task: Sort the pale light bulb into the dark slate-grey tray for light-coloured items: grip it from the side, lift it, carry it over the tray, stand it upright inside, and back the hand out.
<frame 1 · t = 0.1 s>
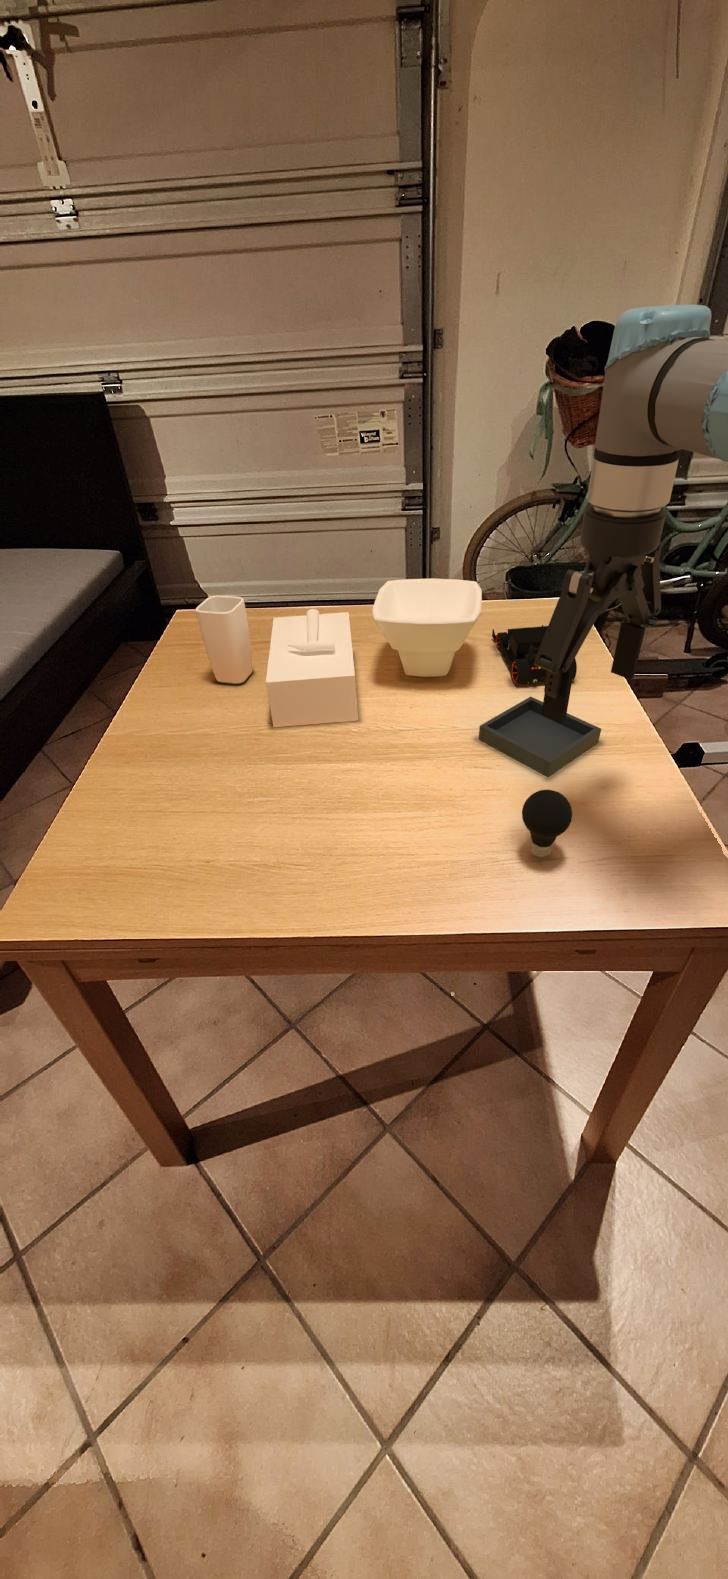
hand: (589, 695, 75), 19 cm above the table, tool pointing down, fingers open, 13 cm apart
cup: (235, 678, 121), on the table
slate tray: (537, 740, 100), on the table
light bulb: (539, 856, 81), on the table
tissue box: (315, 687, 117), on the table
bowl: (427, 670, 120), on the table
toy truck: (530, 661, 120), on the table
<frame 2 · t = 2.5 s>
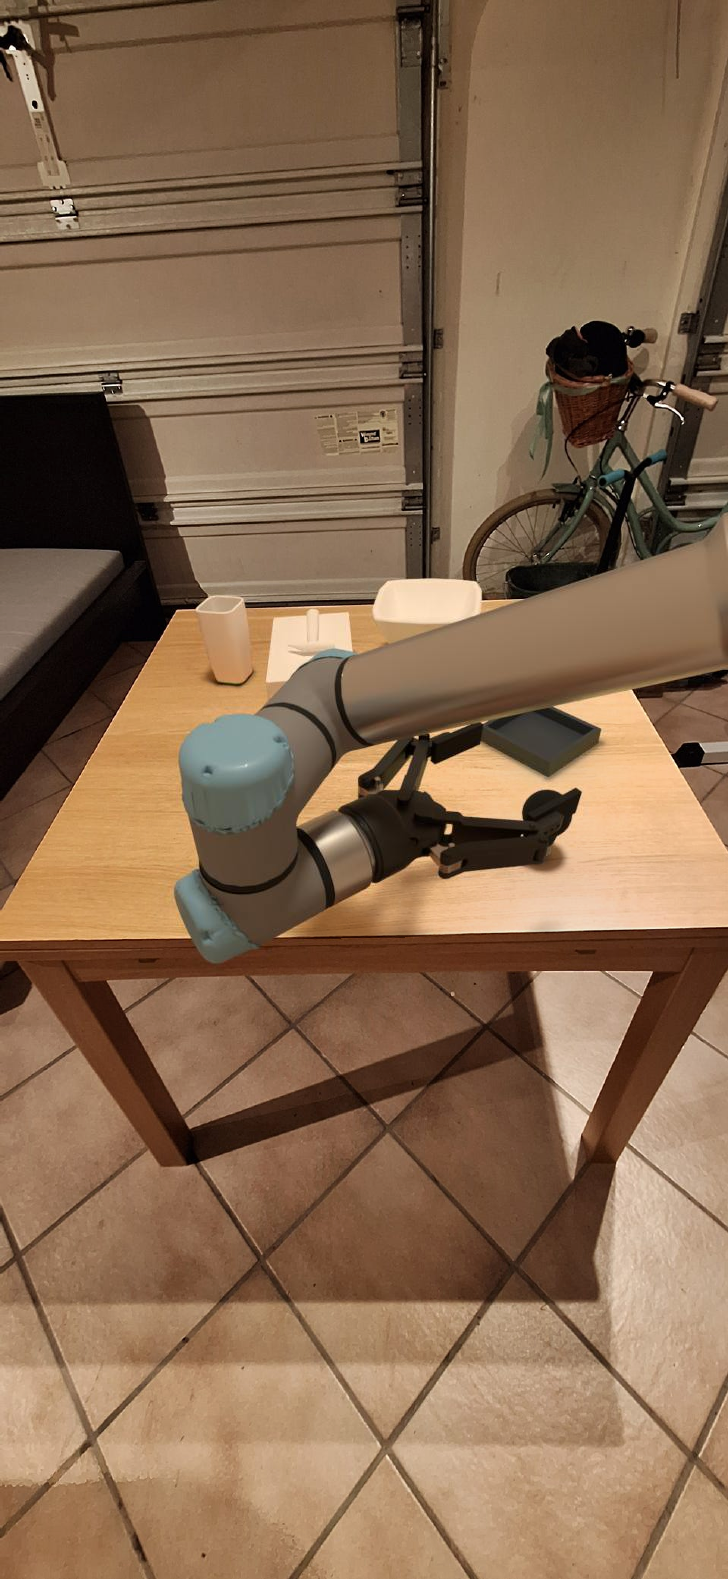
hand: (524, 764, 65), 19 cm above the table, tool horizontal, fingers open, 13 cm apart
nothing on the table moved.
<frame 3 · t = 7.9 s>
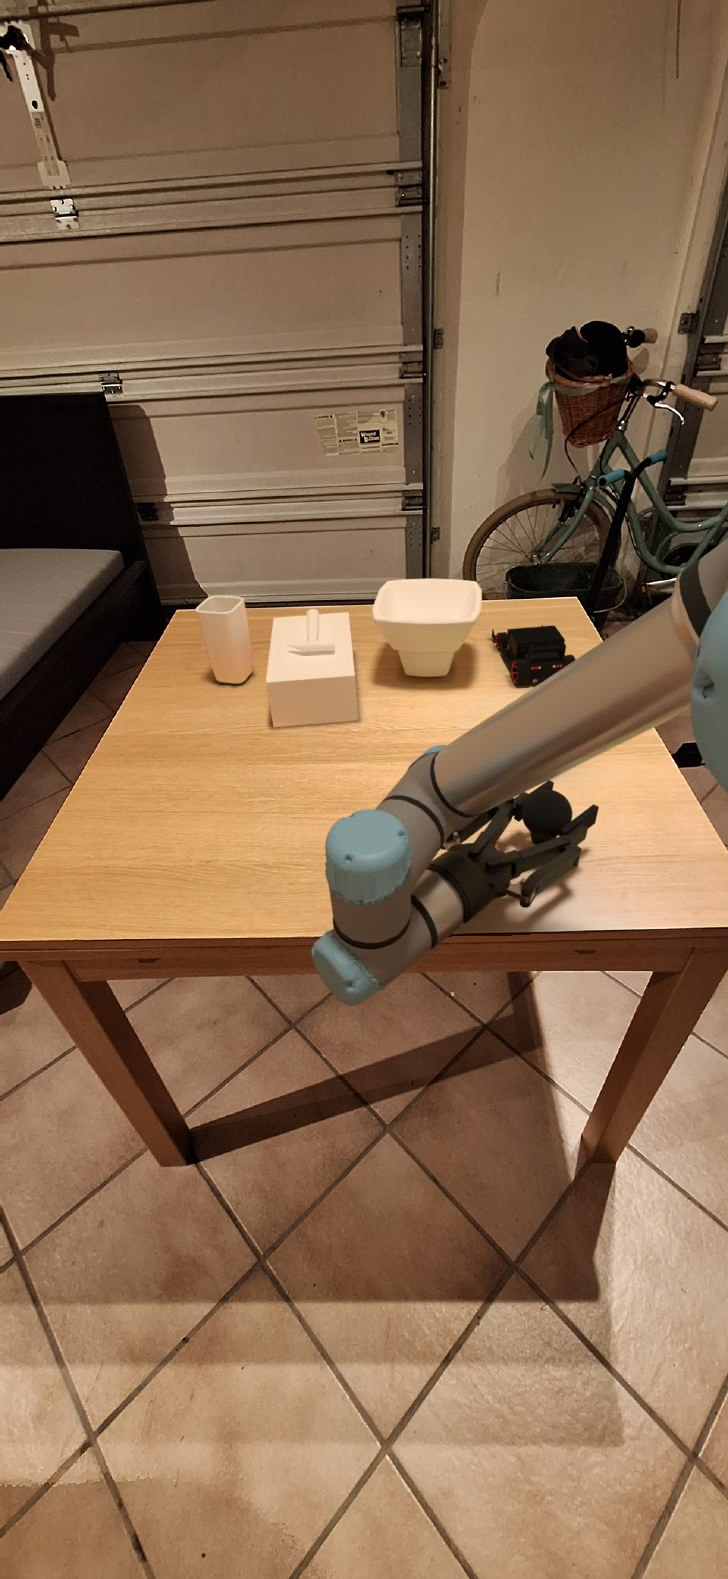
hand: (571, 801, 79), 6 cm above the table, tool horizontal, fingers closed on light bulb, 6 cm apart
light bulb: (539, 856, 81), on the table, touching gripper
everything else where it was.
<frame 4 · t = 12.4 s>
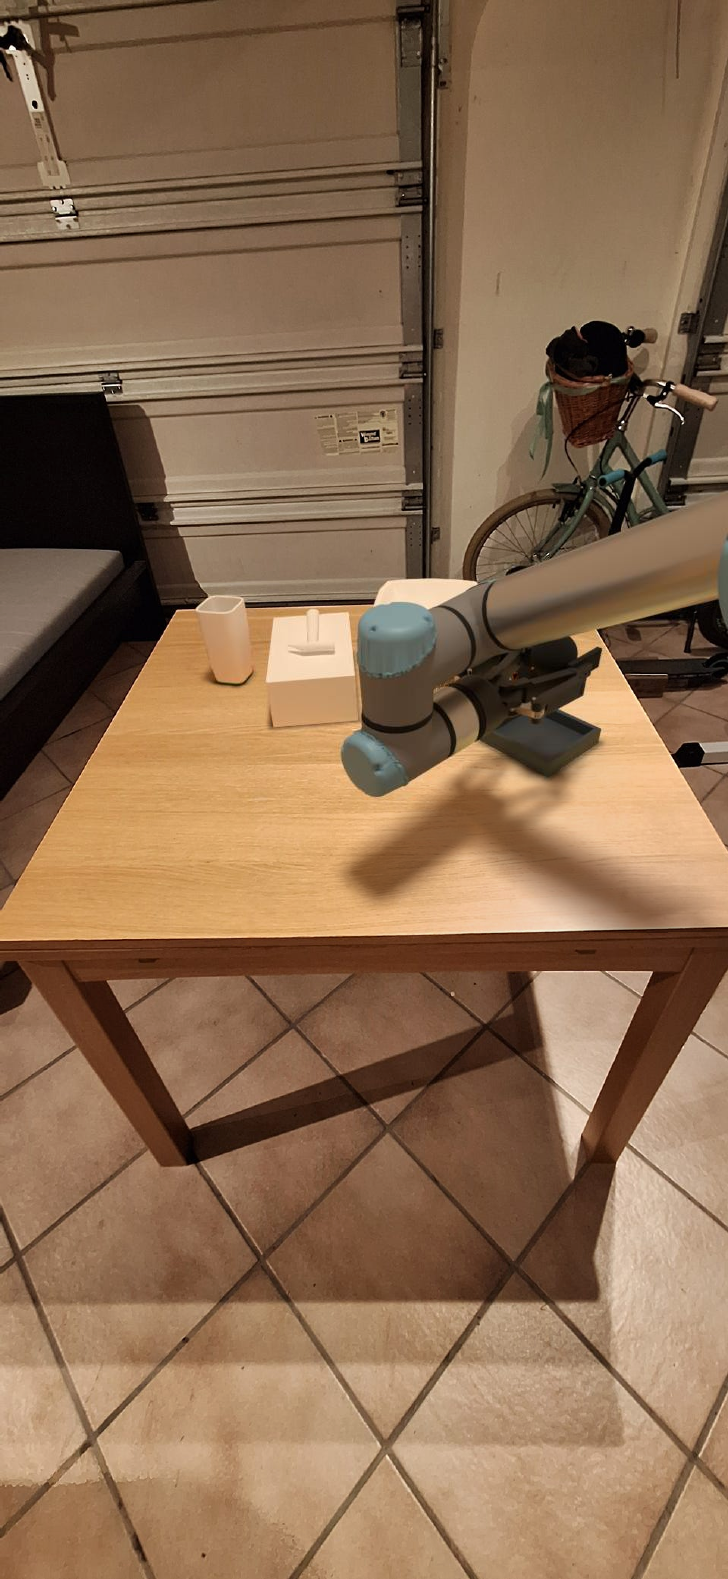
hand: (576, 648, 85), 18 cm above the table, tool horizontal, fingers closed on light bulb, 6 cm apart
light bulb: (546, 702, 87), point 12 cm above the table, touching gripper
everything else where it was.
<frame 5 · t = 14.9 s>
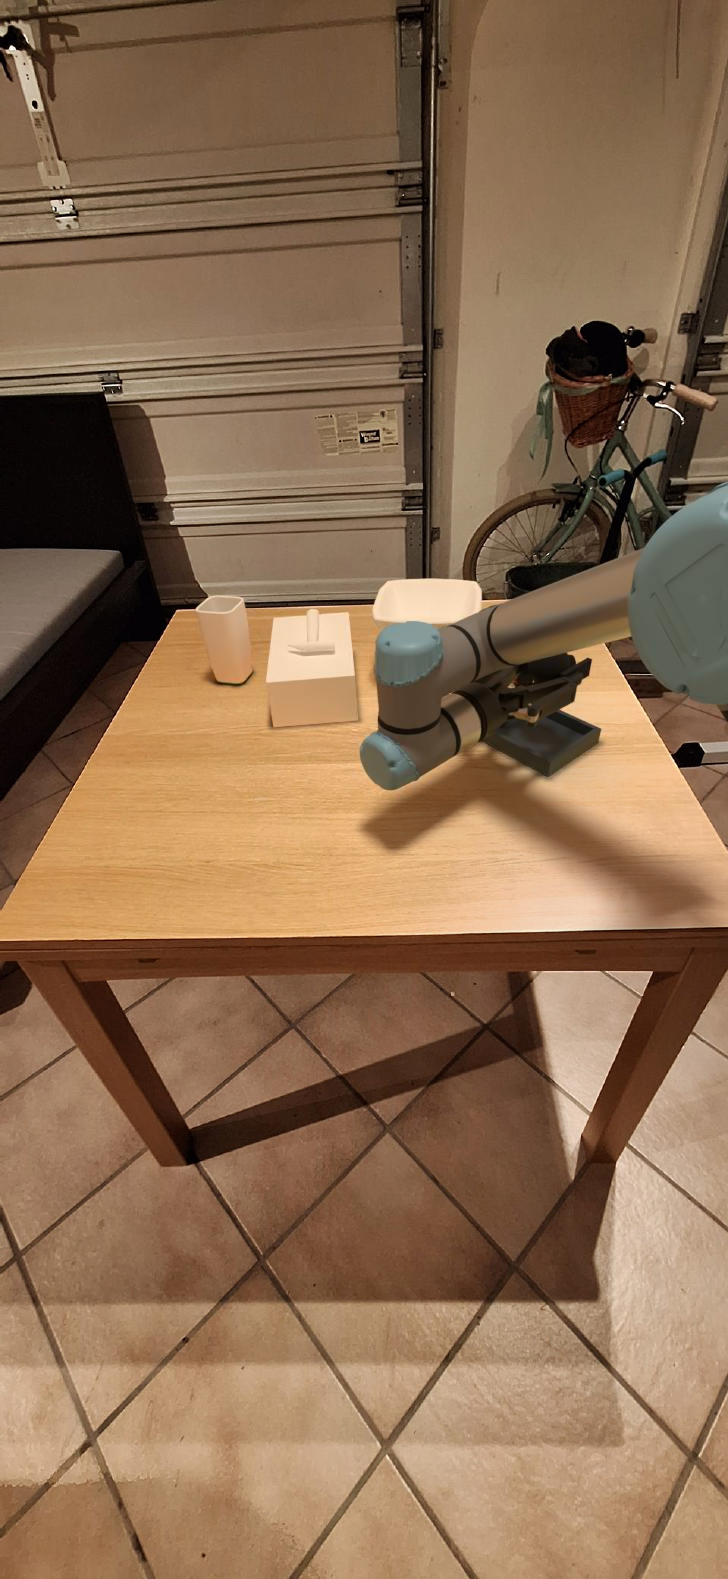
hand: (569, 659, 95), 12 cm above the table, tool horizontal, fingers closed on light bulb, 6 cm apart
light bulb: (542, 707, 96), point 6 cm above the table, touching gripper
everything else where it was.
when the fingers open (7 cm above the table, at t = 16.8 s): light bulb stays where it is, resting on slate tray.
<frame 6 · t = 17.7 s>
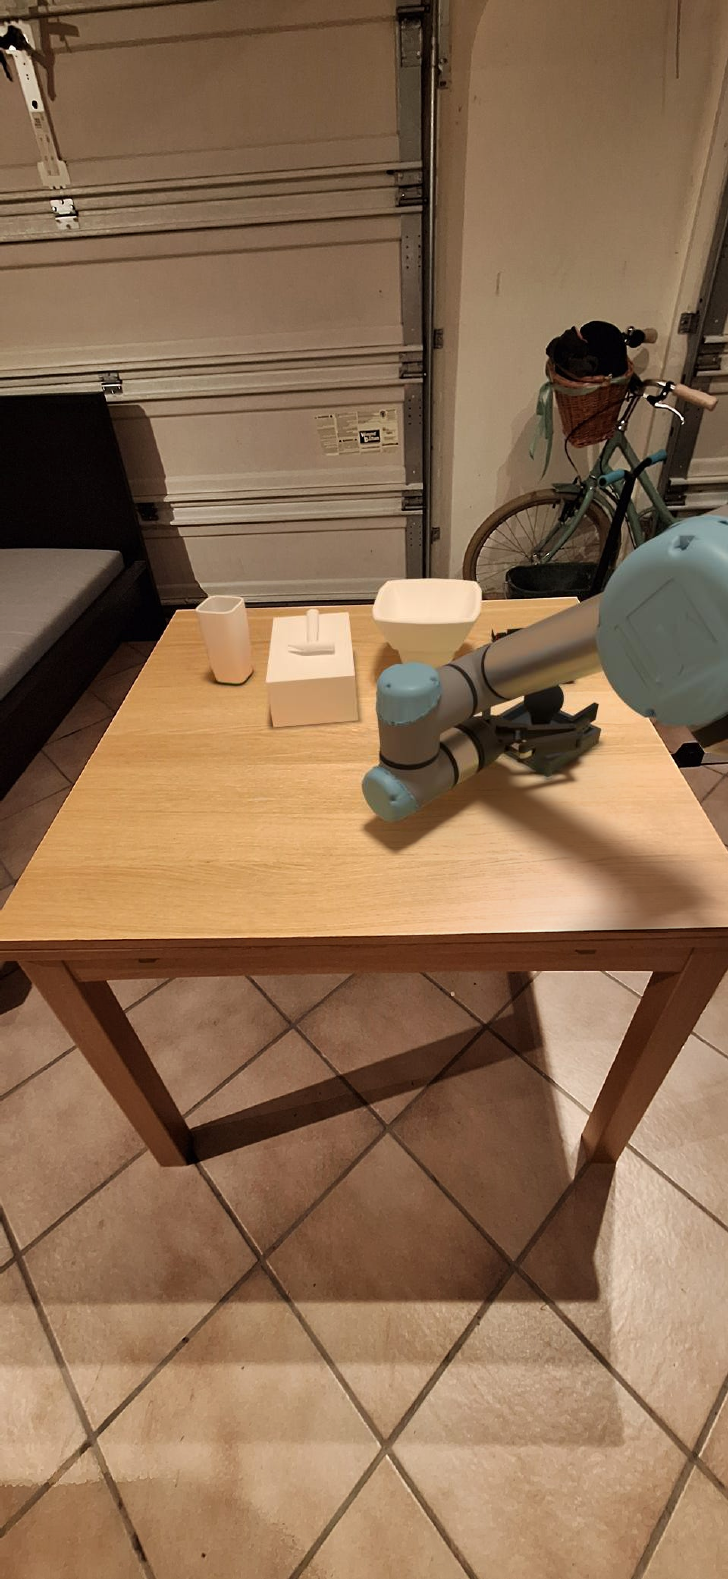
hand: (556, 694, 97), 7 cm above the table, tool horizontal, fingers open, 13 cm apart
light bulb: (537, 738, 100), resting on slate tray
everything else where it was.
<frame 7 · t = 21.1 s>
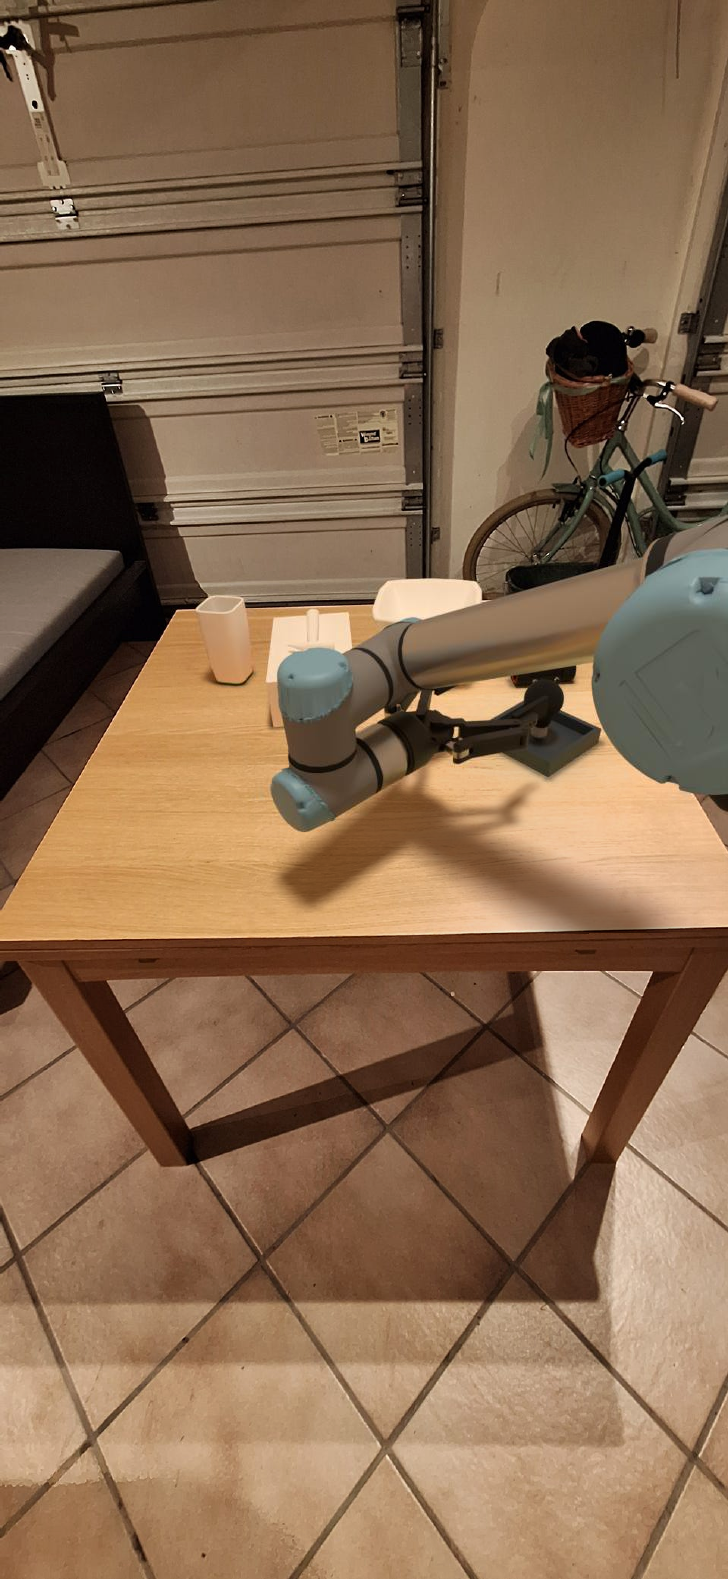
hand: (505, 686, 87), 14 cm above the table, tool horizontal, fingers open, 13 cm apart
nothing on the table moved.
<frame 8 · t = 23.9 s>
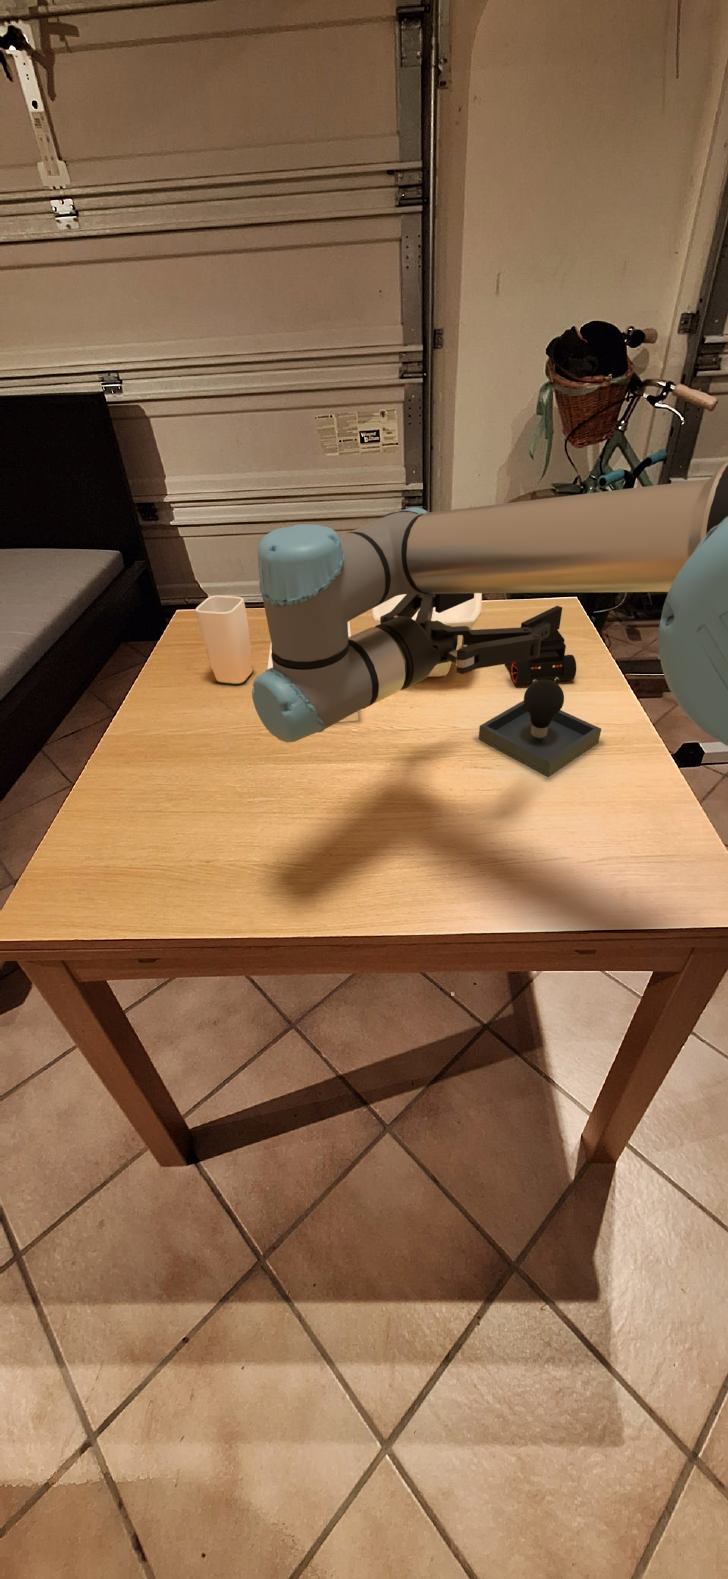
hand: (513, 601, 79), 26 cm above the table, tool horizontal, fingers open, 13 cm apart
nothing on the table moved.
at the end: light bulb inside the target area in the slate tray (0.0 cm from its centre), point 0.4 cm above the slate tray's base; light bulb tilted 0°; the gripper is holding nothing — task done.
